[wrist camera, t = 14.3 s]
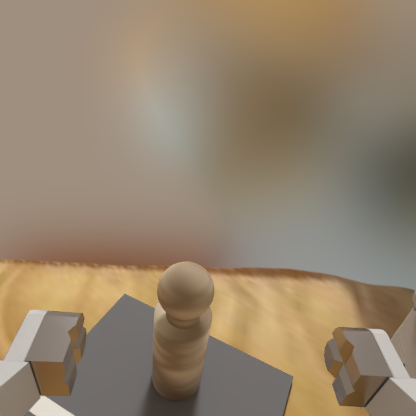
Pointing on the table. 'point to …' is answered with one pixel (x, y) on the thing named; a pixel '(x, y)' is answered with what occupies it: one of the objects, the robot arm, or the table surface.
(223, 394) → the mat
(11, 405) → the robot arm
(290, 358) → the table surface
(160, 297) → the skittle
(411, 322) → the stereo radio cassette player
